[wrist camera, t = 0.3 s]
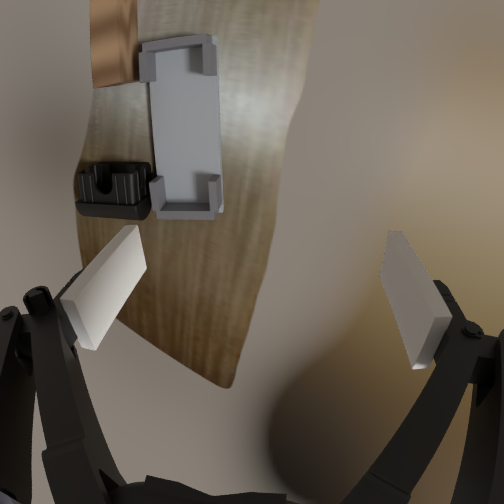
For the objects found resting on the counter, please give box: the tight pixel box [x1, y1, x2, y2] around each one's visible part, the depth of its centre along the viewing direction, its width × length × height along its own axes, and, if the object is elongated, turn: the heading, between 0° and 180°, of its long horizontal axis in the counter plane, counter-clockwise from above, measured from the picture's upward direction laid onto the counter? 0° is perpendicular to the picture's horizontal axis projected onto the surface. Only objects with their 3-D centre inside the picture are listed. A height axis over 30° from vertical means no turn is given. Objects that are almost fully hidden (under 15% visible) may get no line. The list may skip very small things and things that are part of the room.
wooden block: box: [90, 0, 140, 88], centre depth 30 cm, size 16×4×6 cm, turn 2°
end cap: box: [75, 162, 152, 220], centre depth 41 cm, size 10×7×7 cm
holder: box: [139, 34, 224, 220], centre depth 37 cm, size 24×9×4 cm, turn 1°
